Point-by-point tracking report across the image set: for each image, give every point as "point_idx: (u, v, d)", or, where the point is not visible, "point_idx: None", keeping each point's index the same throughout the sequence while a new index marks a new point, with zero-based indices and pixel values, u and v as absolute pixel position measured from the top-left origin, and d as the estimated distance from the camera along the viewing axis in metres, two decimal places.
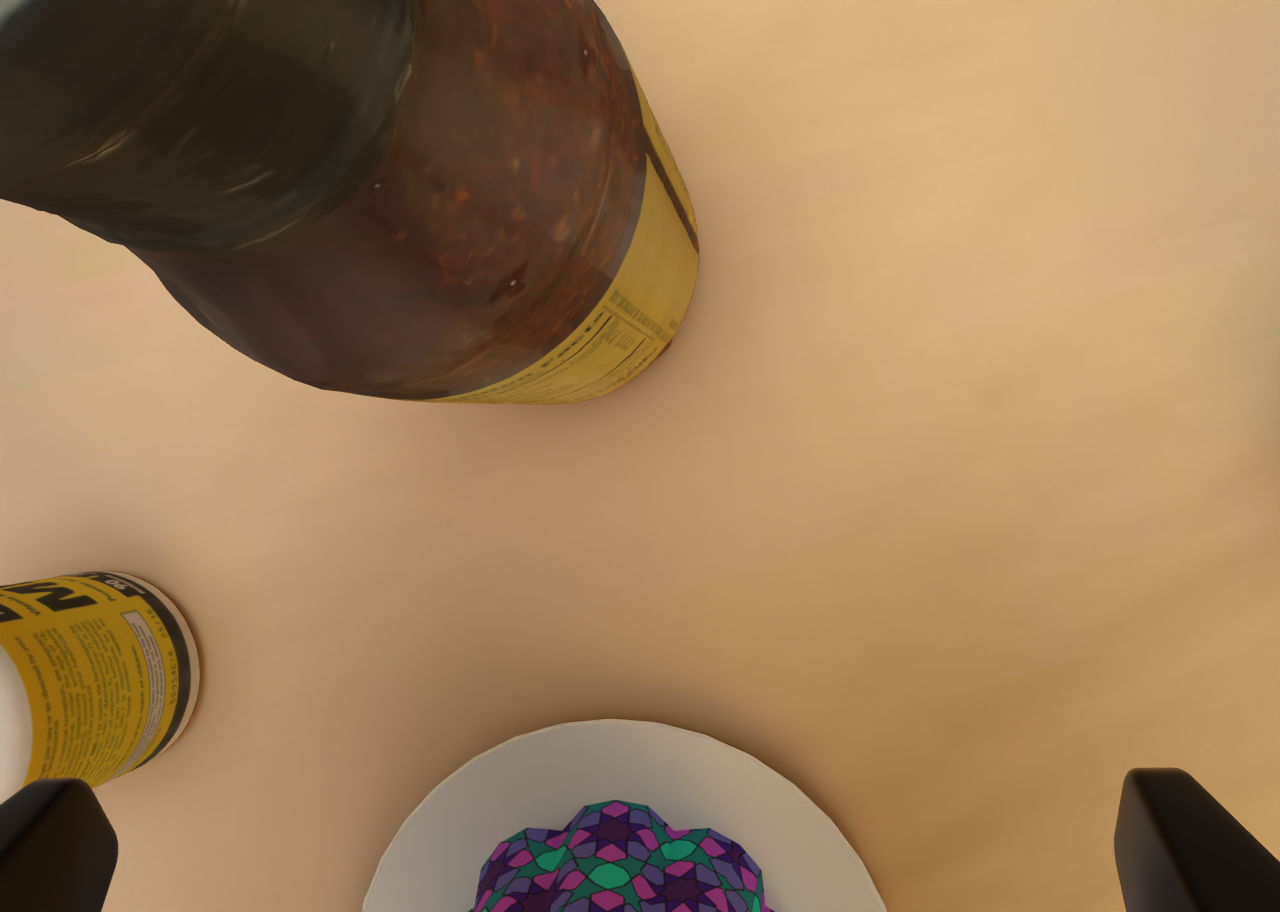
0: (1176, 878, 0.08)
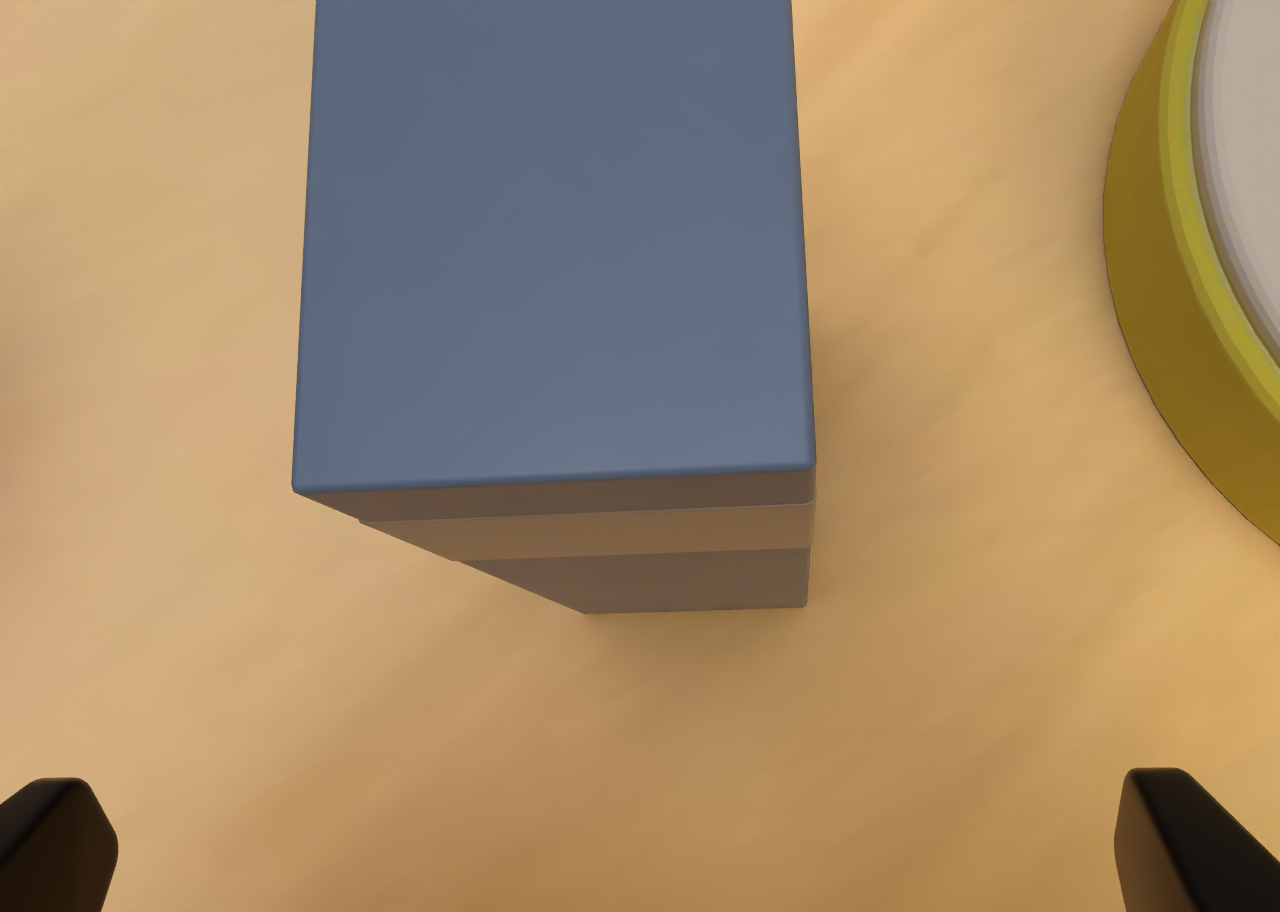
0: (1176, 878, 0.08)
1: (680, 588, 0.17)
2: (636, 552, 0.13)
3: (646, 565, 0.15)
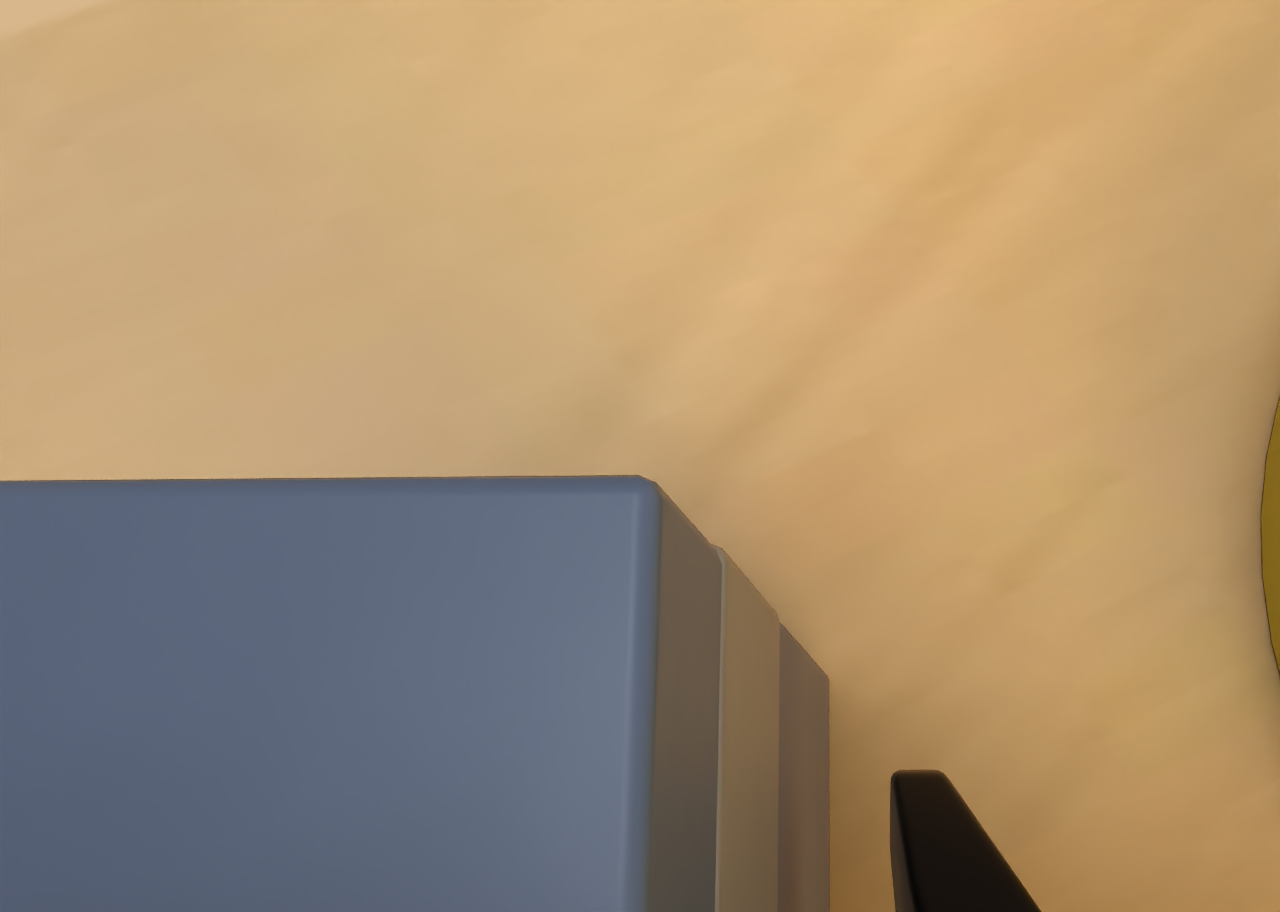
0: (907, 877, 0.08)
1: None
2: None
3: None
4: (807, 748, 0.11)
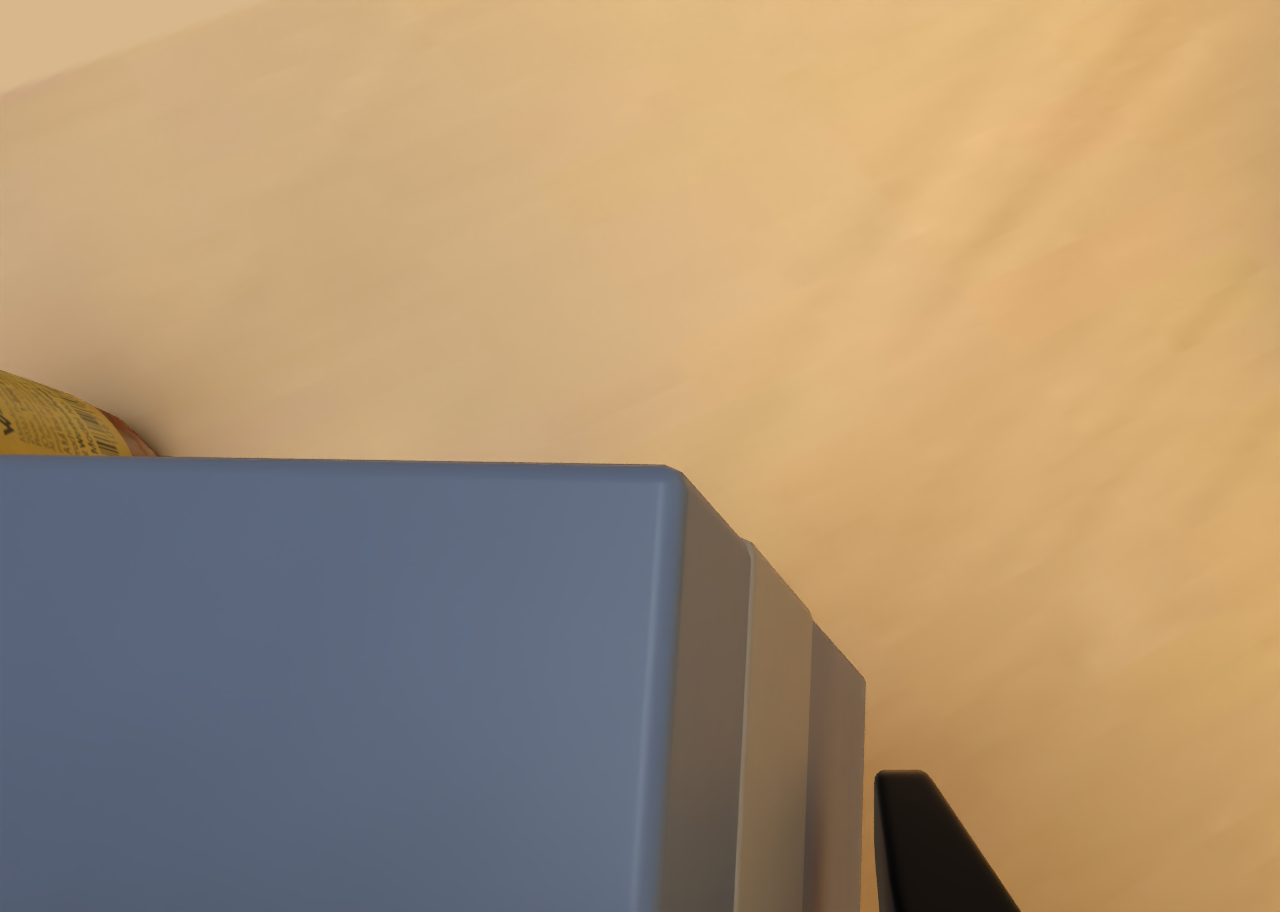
0: (888, 877, 0.08)
1: None
2: None
3: None
4: (840, 749, 0.11)
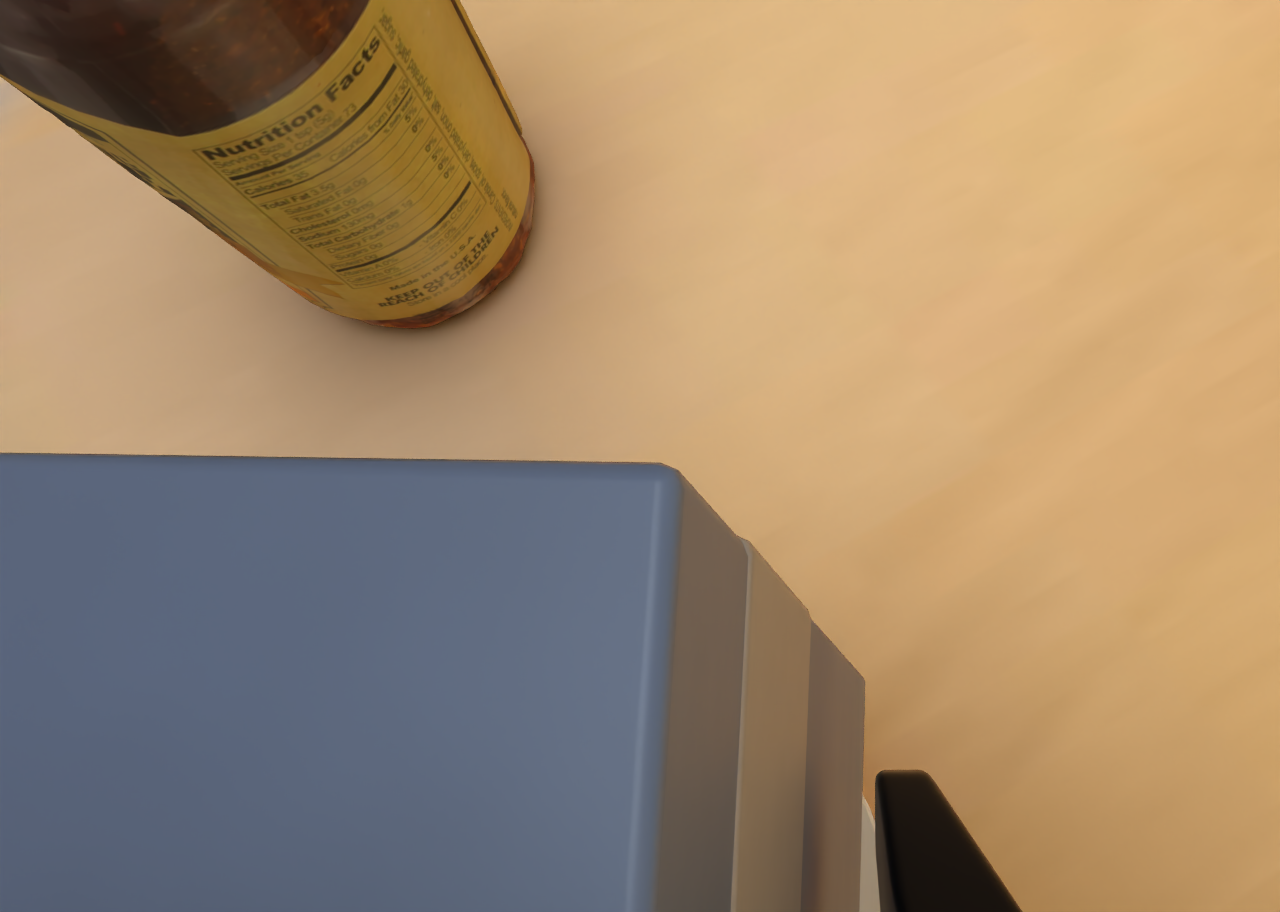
0: (890, 877, 0.08)
1: None
2: None
3: None
4: (839, 748, 0.11)
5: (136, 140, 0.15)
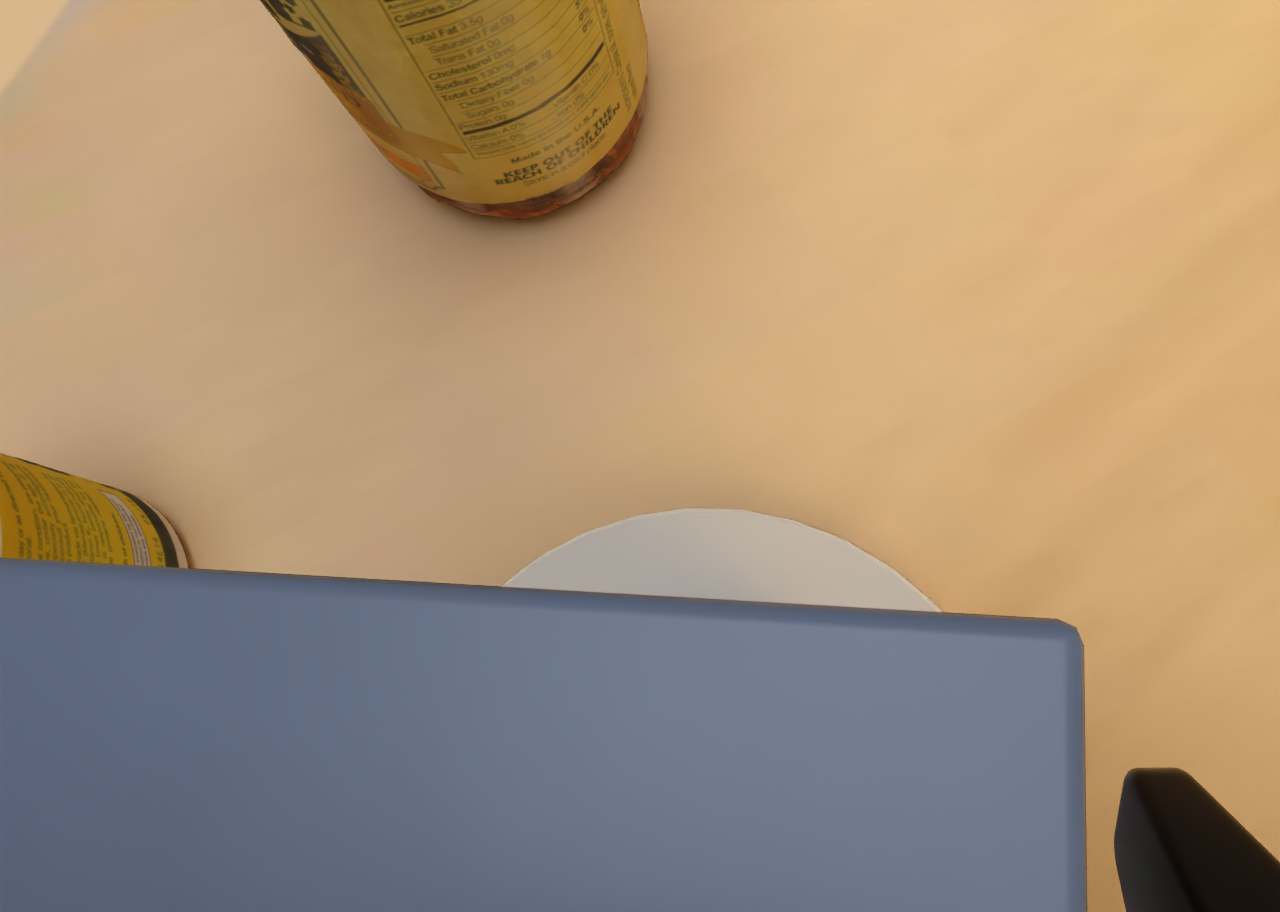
0: (1175, 878, 0.08)
1: None
2: None
3: None
4: None
5: None
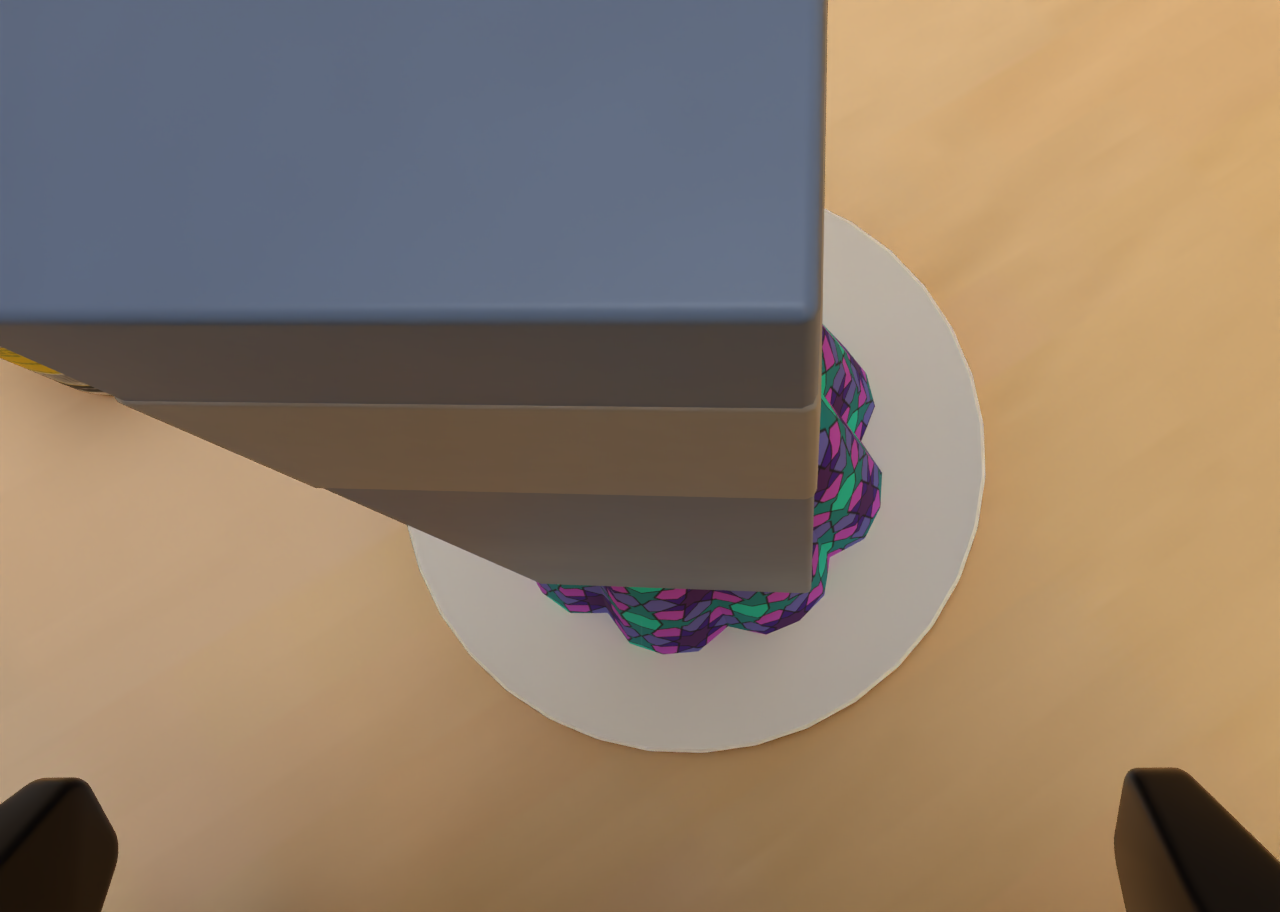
0: (1176, 878, 0.08)
1: (647, 555, 0.14)
2: (566, 490, 0.09)
3: (590, 515, 0.11)
4: None
5: None
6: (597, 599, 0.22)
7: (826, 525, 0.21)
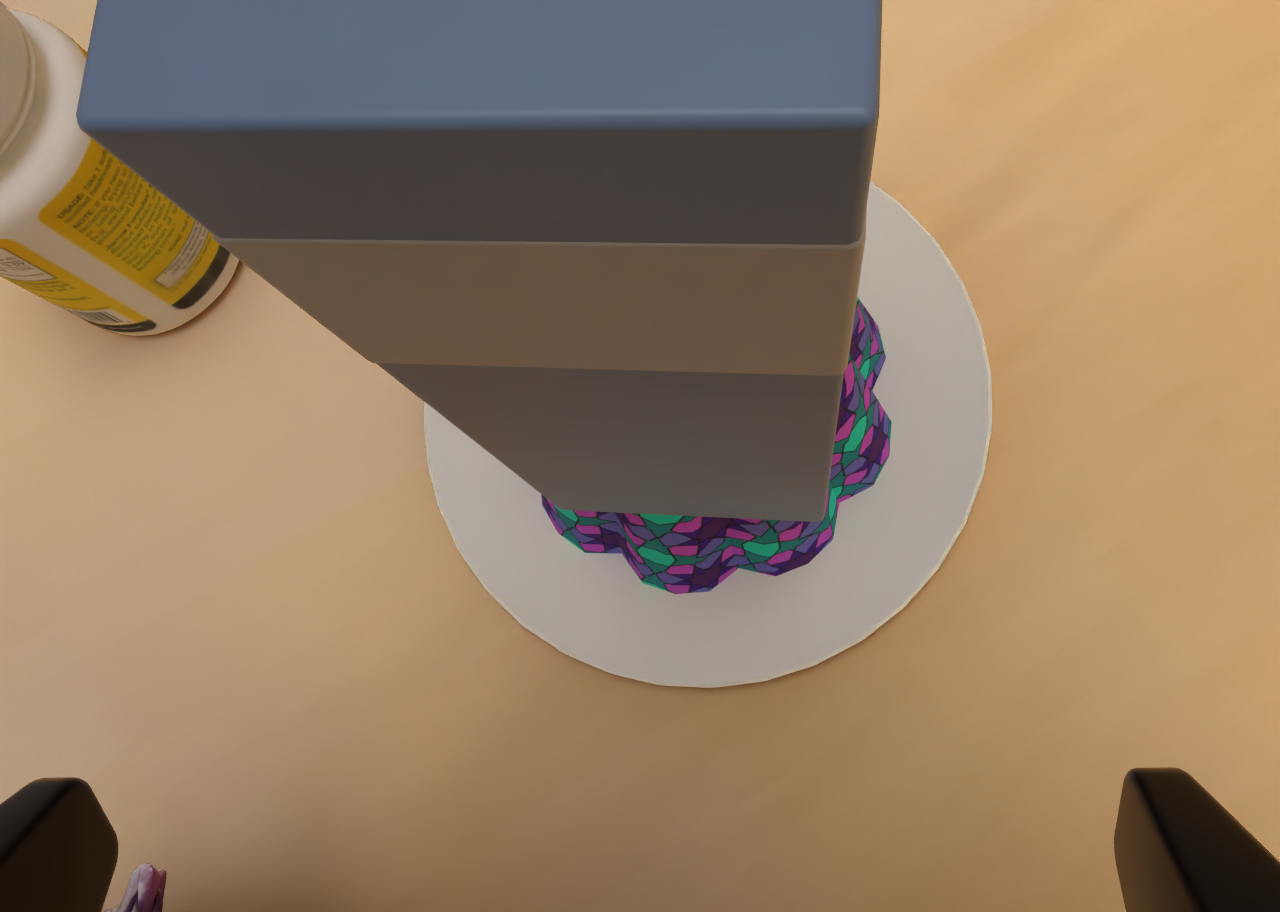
0: (1175, 878, 0.08)
1: (673, 465, 0.14)
2: (611, 365, 0.10)
3: (628, 404, 0.11)
4: None
5: None
6: (612, 538, 0.23)
7: (837, 467, 0.21)
